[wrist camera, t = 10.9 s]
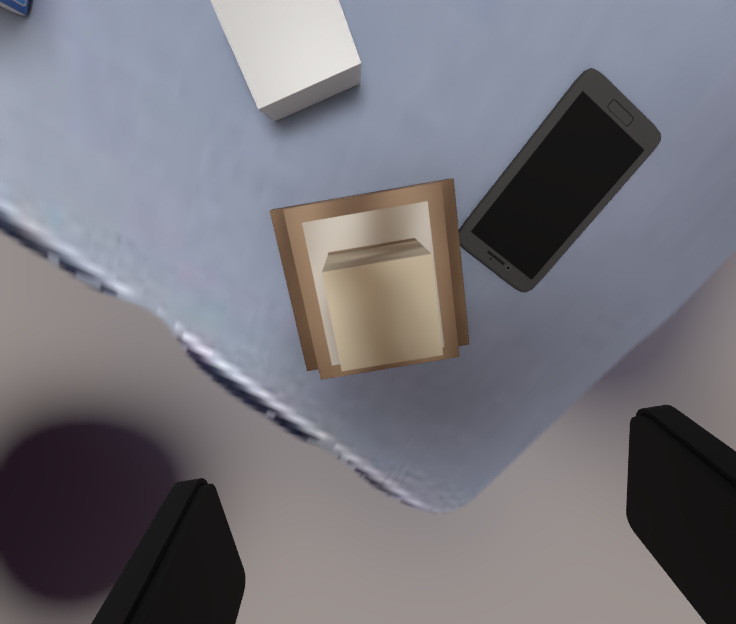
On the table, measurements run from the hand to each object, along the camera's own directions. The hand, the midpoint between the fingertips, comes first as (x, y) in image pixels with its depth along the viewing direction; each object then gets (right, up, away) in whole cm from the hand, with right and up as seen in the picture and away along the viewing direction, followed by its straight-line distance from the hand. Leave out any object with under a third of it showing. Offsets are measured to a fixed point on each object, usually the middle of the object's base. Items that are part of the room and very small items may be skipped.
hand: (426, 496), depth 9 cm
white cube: (-6, +20, +17) cm, 27 cm away
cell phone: (+12, +13, +20) cm, 27 cm away
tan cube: (-1, +6, +18) cm, 19 cm away
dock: (-1, +7, +21) cm, 22 cm away
